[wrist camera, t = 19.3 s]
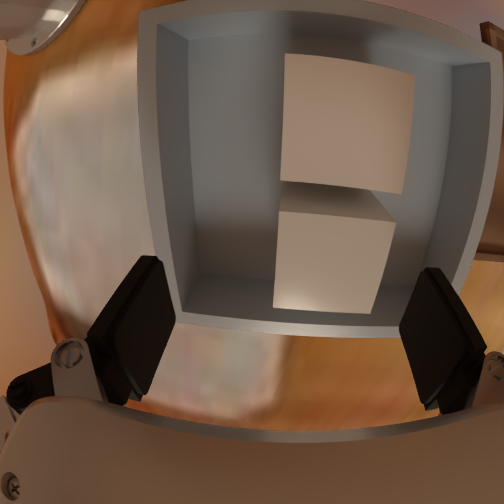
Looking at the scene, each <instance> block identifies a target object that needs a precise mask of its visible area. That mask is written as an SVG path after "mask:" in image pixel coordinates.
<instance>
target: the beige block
mask: <svg viewBox="0 0 504 504" xmlns="http://www.w3.org/2000/svg"><path fill="white" fill-rule="evenodd" d="M414 80H415V75H412V74H409V73H405V72H402V71H398V70H394V69H390V68H386V67H381V66H377V65H372V64H367V63H362V62H357V61H351V60H345V59H338V58H331V57H323V56H314V55H302V54H287V53H285V73H284V105H283V131H282V153H281V173H280V180H282V181H295V182H306V183H317V184H326V185H335V186H344V187H352V188H360V189H368V190H375V191H382V192H388V193H395V194H402V189H403V184H404V178H405V172H406V166H407V159H408V152H409V144H410V136H411V126H412V115H413V102H414Z"/></svg>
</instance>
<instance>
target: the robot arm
mask: <svg viewBox="0 0 504 504" xmlns="http://www.w3.org/2000/svg"><path fill="white" fill-rule="evenodd" d="M85 1H86V0H0V40H5V44H6V46H7V48H8V50H9V51H10V52H11V53H13V54H15V55H29V54H33V53H36V52H38V51H39V50H41V49H43V48H44V47H46V46H47V45H48V44H50V43H51V42H52V41H53V40H54V39H55V38H56V37H57V36H59V35H60V34H61V33H62V31H63V30H64V29H65V28H66V27H67V26H68V25H69V24H70V22H71V21H72V20H73V18H74V17H75V16H76V14H77V13H78V12H79V11H80V9H81V7H82V6H83V4H84V3H85ZM175 321H176V315H175V311H174V307H173V303H172V299H171V295H170V290H169V286H168V282H167V277H166V273H165V268H164V264H163V262H162V261H161V260H159V258H158V257H157V256H146V255H143V256H141V257H140V258H139V259H138V261H137V262H136V263H135V265H134V266H133V267H132V269H131V270H130V271H129V273H128V274H127V276H126V277H125V278H124V280H123V281H122V282H121V284H120V285H119V287H118V288H117V290H116V291H115V292H114V294H113V295H112V297H111V298H110V300H109V301H108V303H107V304H106V305H105V307H104V308H103V310H102V311H101V313H100V314H99V316H98V317H97V319H96V320H95V322H94V324H93V325H92V327H91V328H90V330H89V331H88V333H87V338H86V339H85V341H84V340H83V339H80V338H75V337H72V338H68V339H65V340H63V341H61V342H60V343H59V344H58V345H57V346H56V347H55V349H54V350H53V352H52V355H51V363H48V364H46V365H44V366H41V367H39V368H37V369H34V370H32V371H30V372H27V373H25V374H23V375H20V376H18V377H16V378H15V379H14V380H13V381H12V382H11V383H10V385H9V386H8V389H7V396H6V397H5V396H4V395H3V396H1V397H0V504H504V355H503V354H502V353H500V352H496V351H492V352H489V353H488V354H487V355H486V356H485V354H484V351H485V350H486V348H487V346H486V344H485V342H484V340H483V338H482V336H481V334H480V332H479V330H478V328H477V327H476V325H475V323H474V321H473V320H472V318H471V316H470V314H469V313H468V311H467V309H466V307H465V306H464V304H463V302H462V301H461V299H460V298H459V296H458V294H457V293H456V291H455V290H454V288H453V287H452V285H451V283H450V282H449V280H448V279H447V277H446V276H445V274H444V273H443V272H442V270H441V269H440V268H437V267H426V268H425V269H424V270H423V271H421V272H420V274H419V276H418V279H417V282H416V284H415V287H414V290H413V292H412V295H411V297H410V300H409V302H408V305H407V307H406V310H405V312H404V314H403V317H402V319H401V321H400V324H399V333H400V336H401V339H402V342H403V345H404V348H405V351H406V354H407V357H408V360H409V364H410V367H411V370H412V374H413V377H414V380H415V384H416V388H417V391H418V395H419V399H420V402H421V403H422V404H424V407H425V411H427V410H432V409H436V408H438V407H439V410H440V413H439V415H438V416H436V417H432V418H427V419H422V420H417V421H412V422H406V423H400V424H394V425H387V426H379V427H370V428H360V429H348V430H330V431H276V430H258V429H245V428H235V427H226V426H218V425H210V424H204V423H197V422H191V421H186V420H181V419H175V418H171V417H166V416H161V415H156V414H152V413H147V412H143V411H139V410H135V409H131V408H127V407H126V403H127V401H128V399H131V400H135V401H139V402H140V401H141V398H142V396H143V395H146V394H147V393H148V391H149V388H150V385H151V383H152V380H153V377H154V375H155V372H156V370H157V367H158V365H159V362H160V360H161V357H162V355H163V352H164V350H165V347H166V345H167V342H168V340H169V337H170V335H171V332H172V330H173V327H174V325H175Z"/></svg>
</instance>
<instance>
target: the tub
mask: <svg viewBox="0 0 504 504" xmlns="http://www.w3.org/2000/svg"><path fill="white" fill-rule="evenodd" d="M285 53H287V54H302V55H314V56H323V57H331V58H338V59H345V60H351V61H357V62H362V63H367V64H372V65H377V66H381V67H386V68H390V69H394V70H398V71H402V72H405V73H409V74H412V75H415V80H414V102H413V115H412V126H411V136H410V144H409V152H408V159H407V166H406V172H405V178H404V184H403V189H402V194H395V193H388V192H382V191H375V190H370V191H371V192H372V193H373V194H374V195H375V197H376V198H377V199H378V200H379V201H380V203H381V204H382V205H383V206H384V208H385V209H386V210H387V211H388V213H389V214H390V215H391V216H392V218H393V219H394V220H395V222H396V226H395V230H394V234H393V238H392V242H391V246H390V250H389V254H388V258H387V261H386V265H385V269H384V272H383V275H382V279H381V282H380V285H379V289H378V292H377V295H376V298H375V301H374V304H373V307H372V310H371V313H370V314H363V313H342V312H324V311H309V310H296V309H283V308H273V298H274V284H275V270H276V255H277V239H278V222H279V209H280V201H281V194H282V187H283V181H282V180H280V173H281V153H282V131H283V105H284V73H285ZM137 86H138V113H139V130H140V143H141V154H142V164H143V174H144V182H145V190H146V198H147V205H148V212H149V219H150V225H151V231H152V237H153V243H154V248H155V254H156V256H157V257H158V258H159V260H161V261H162V262H163V264H164V268H165V273H166V277H167V282H168V286H169V290H170V295H171V299H172V303H173V307H174V311H175V315H176V321H175V322H178V323H185V324H192V325H199V326H206V327H214V328H222V329H231V330H240V331H250V332H260V333H272V334H285V335H300V336H319V337H346V338H401V336H400V333H399V324H400V321H401V319H402V317H403V314H404V312H405V310H406V307H407V305H408V302H409V300H410V297H411V295H412V292H413V290H414V287H415V284H416V282H417V279H418V276H419V274H420V272H421V271H423V270H424V269H425V268H426V267H437V268H440V269H441V270H442V272H443V273H444V274H445V276H446V277H447V279H448V280H449V282H450V283H451V285H452V287H453V288H454V290H455V291H456V293H457V294H458V296H459V294H460V291H461V289H462V287H463V284H464V282H465V279H466V277H467V274H468V272H469V269H470V267H471V264H472V261H473V259H474V256H475V253H476V250H477V247H478V244H479V241H480V238H481V235H482V231H483V228H484V224H485V221H486V217H487V214H488V210H489V206H490V202H491V197H492V193H493V188H494V183H495V178H496V172H497V166H498V160H499V153H500V145H501V135H502V123H503V99H504V87H503V63H502V53H501V52H499V51H498V50H496V49H494V48H492V47H491V46H489V45H487V44H485V43H483V42H481V41H479V40H477V39H475V38H473V37H471V36H469V35H467V34H465V33H463V32H461V31H458V30H456V29H454V28H451V27H449V26H446V25H444V24H442V23H439V22H436V21H434V20H431V19H428V18H425V17H422V16H419V15H416V14H413V13H410V12H407V11H403V10H400V9H396V8H393V7H388V6H385V5H380V4H376V3H372V2H367V1H362V0H187V1H182V2H177V3H172V4H168V5H164V6H159V7H156V8H152V9H148V10H144V11H141V12H139V23H138V48H137Z"/></svg>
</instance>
